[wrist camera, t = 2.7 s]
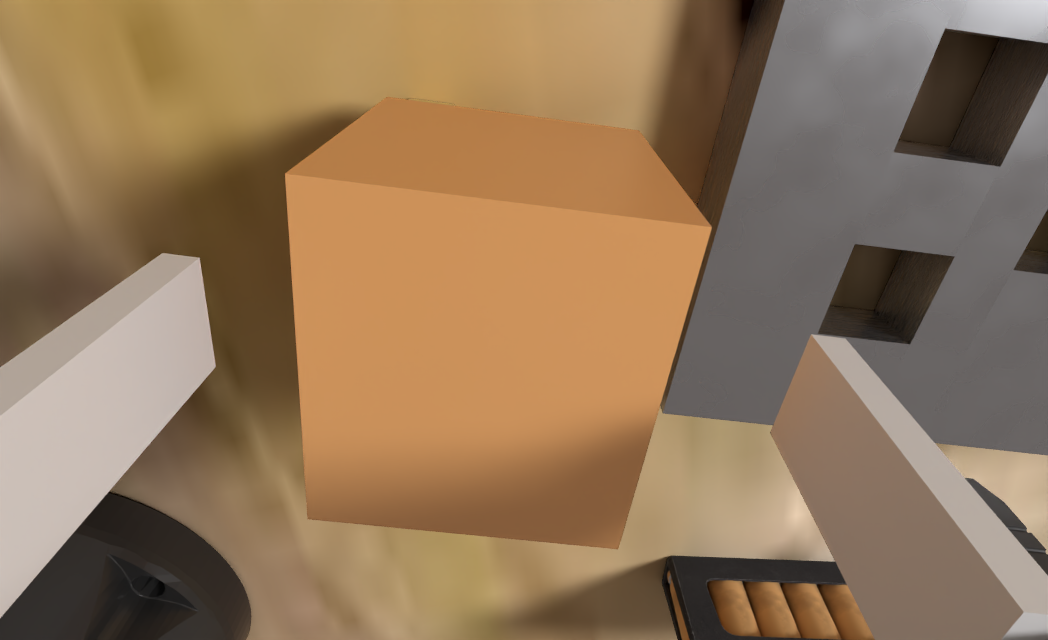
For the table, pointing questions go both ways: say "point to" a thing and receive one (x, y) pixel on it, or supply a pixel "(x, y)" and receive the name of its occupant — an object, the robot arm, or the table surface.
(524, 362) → the cardboard-colored brick
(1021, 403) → the socket plate
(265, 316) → the table surface
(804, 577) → the ammunition clip
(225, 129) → the table surface
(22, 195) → the table surface
